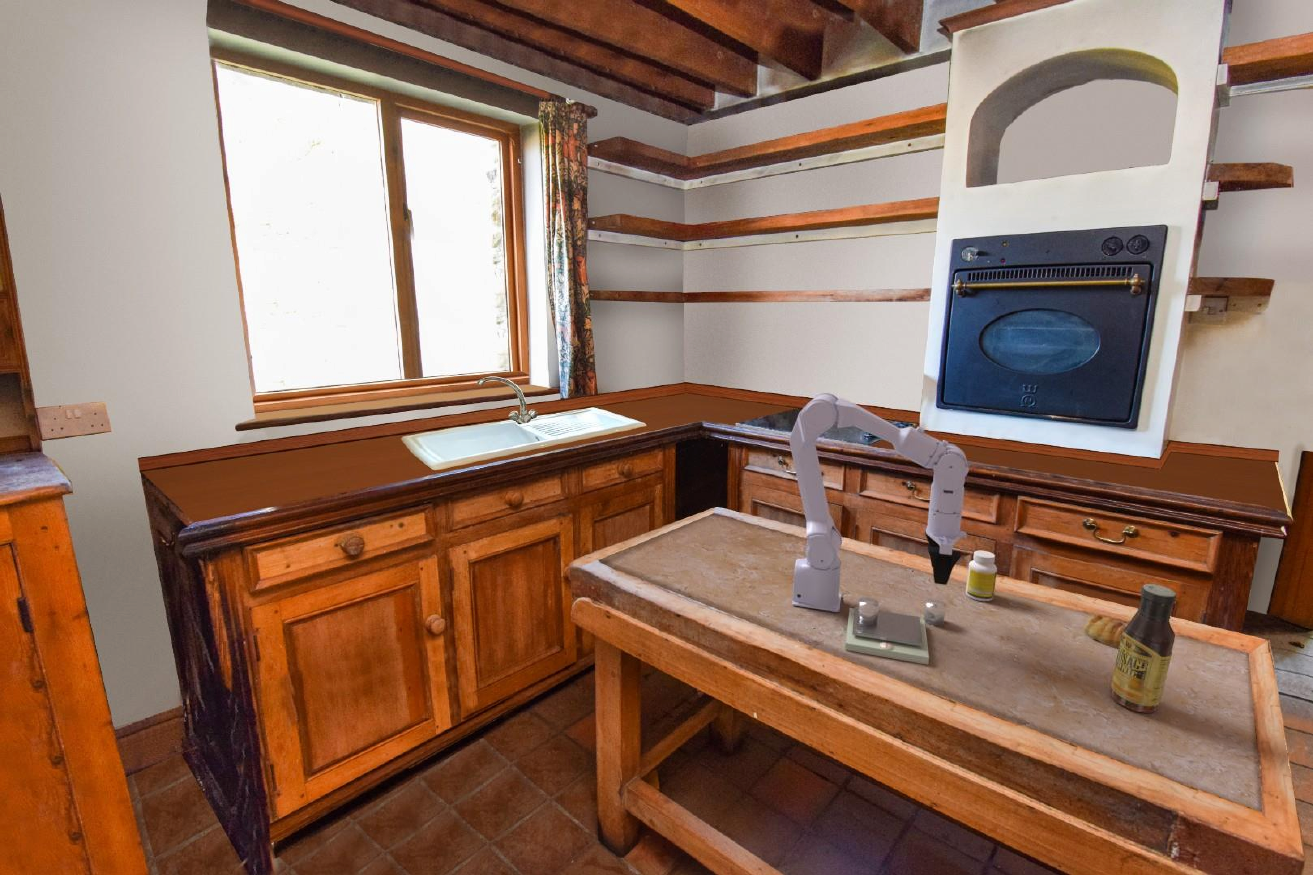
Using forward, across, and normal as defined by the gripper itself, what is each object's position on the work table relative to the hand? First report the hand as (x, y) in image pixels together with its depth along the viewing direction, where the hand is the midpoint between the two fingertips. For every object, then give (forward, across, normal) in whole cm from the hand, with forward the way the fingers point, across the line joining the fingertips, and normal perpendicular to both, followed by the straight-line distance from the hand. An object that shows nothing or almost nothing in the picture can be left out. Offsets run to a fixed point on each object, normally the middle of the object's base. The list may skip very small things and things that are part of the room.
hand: (938, 575), depth 120 cm
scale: (+10, -10, +9) cm, 16 cm away
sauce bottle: (+10, -17, -28) cm, 34 cm away
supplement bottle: (+10, +15, -10) cm, 21 cm away
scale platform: (+9, -9, +9) cm, 16 cm away
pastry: (+11, +4, -31) cm, 33 cm away
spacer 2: (+10, 0, 0) cm, 10 cm away
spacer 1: (+7, -9, +13) cm, 17 cm away
